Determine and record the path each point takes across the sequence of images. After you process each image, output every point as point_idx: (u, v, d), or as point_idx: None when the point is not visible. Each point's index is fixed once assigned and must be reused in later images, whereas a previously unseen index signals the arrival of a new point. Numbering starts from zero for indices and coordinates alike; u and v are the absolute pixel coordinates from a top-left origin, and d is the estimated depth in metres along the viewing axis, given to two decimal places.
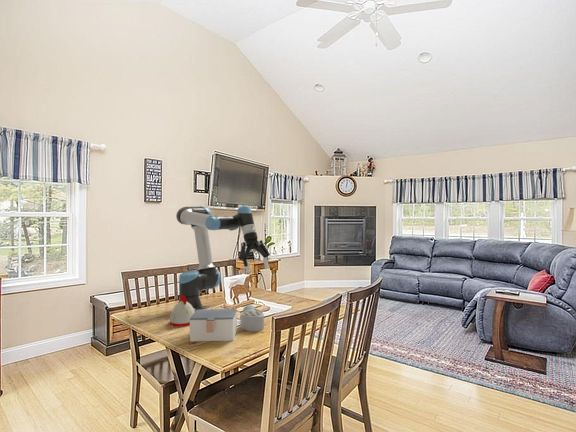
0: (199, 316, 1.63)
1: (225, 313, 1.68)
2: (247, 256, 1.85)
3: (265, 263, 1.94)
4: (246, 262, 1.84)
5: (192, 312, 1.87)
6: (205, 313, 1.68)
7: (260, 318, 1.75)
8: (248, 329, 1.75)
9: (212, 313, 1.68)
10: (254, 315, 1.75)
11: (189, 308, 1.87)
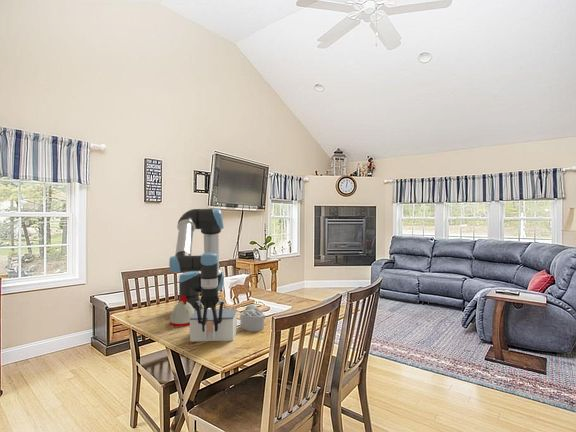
0: None
1: (225, 313, 1.68)
2: (204, 319, 1.57)
3: None
4: (204, 327, 1.58)
5: (192, 312, 1.87)
6: None
7: (260, 318, 1.75)
8: (248, 329, 1.75)
9: (212, 313, 1.68)
10: (254, 315, 1.75)
11: (189, 308, 1.87)
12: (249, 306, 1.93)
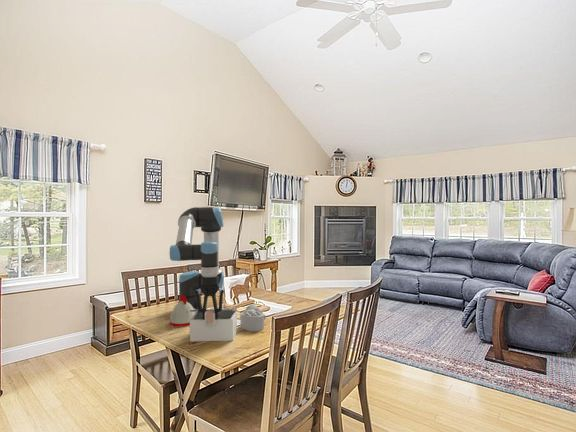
0: None
1: None
2: (204, 308, 1.58)
3: None
4: (204, 315, 1.58)
5: (192, 312, 1.87)
6: None
7: (260, 318, 1.75)
8: (248, 329, 1.75)
9: None
10: (254, 315, 1.75)
11: (189, 308, 1.87)
12: (250, 306, 1.93)
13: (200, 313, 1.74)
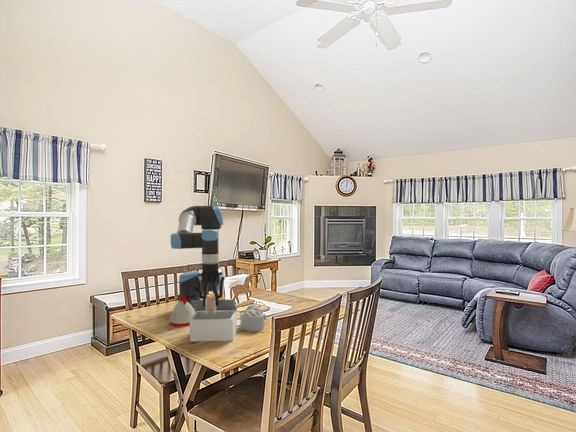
0: None
1: None
2: (205, 294, 1.59)
3: None
4: None
5: (192, 312, 1.87)
6: None
7: (260, 318, 1.75)
8: (248, 329, 1.75)
9: None
10: (254, 315, 1.75)
11: (189, 308, 1.87)
12: (250, 306, 1.94)
13: (200, 313, 1.74)
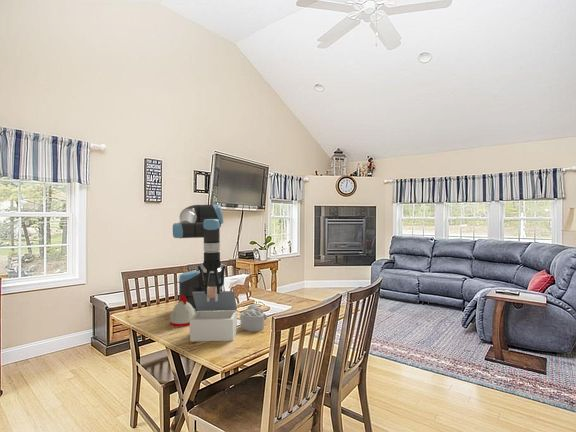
0: None
1: None
2: (207, 282, 1.63)
3: None
4: (206, 290, 1.64)
5: (192, 312, 1.87)
6: None
7: (260, 318, 1.75)
8: (248, 329, 1.75)
9: None
10: (254, 315, 1.75)
11: (189, 308, 1.87)
12: (251, 306, 1.94)
13: (200, 313, 1.74)
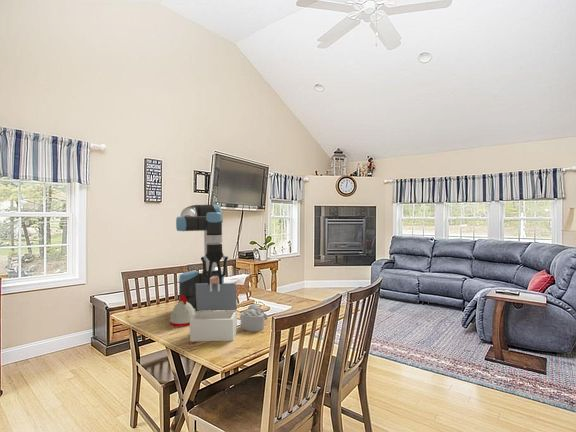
0: None
1: None
2: (210, 273, 1.70)
3: (218, 284, 1.71)
4: (209, 280, 1.70)
5: (192, 312, 1.87)
6: None
7: (260, 318, 1.75)
8: (248, 329, 1.75)
9: None
10: (254, 315, 1.75)
11: (189, 308, 1.87)
12: (251, 306, 1.94)
13: (200, 313, 1.74)
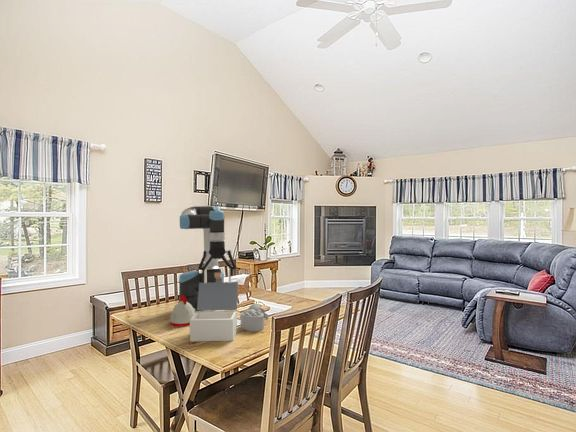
0: None
1: None
2: (205, 266, 1.77)
3: (229, 276, 1.79)
4: (203, 272, 1.77)
5: (192, 312, 1.87)
6: None
7: (260, 318, 1.75)
8: (248, 329, 1.75)
9: None
10: (254, 315, 1.75)
11: (189, 308, 1.87)
12: (253, 305, 1.94)
13: (200, 313, 1.74)
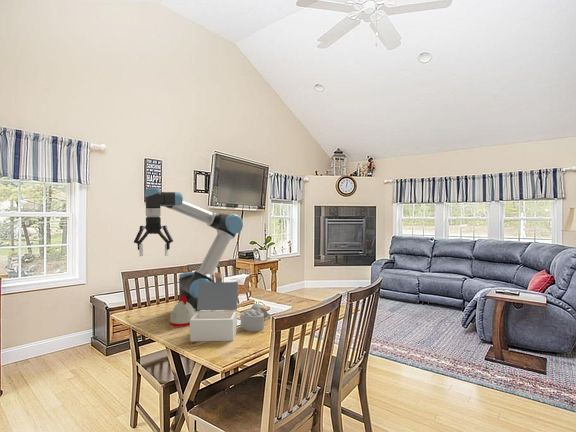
0: None
1: None
2: (141, 240, 1.86)
3: None
4: None
5: (192, 312, 1.87)
6: None
7: (260, 318, 1.75)
8: (248, 329, 1.75)
9: None
10: (254, 315, 1.75)
11: (189, 308, 1.87)
12: (255, 305, 1.95)
13: (200, 313, 1.74)
